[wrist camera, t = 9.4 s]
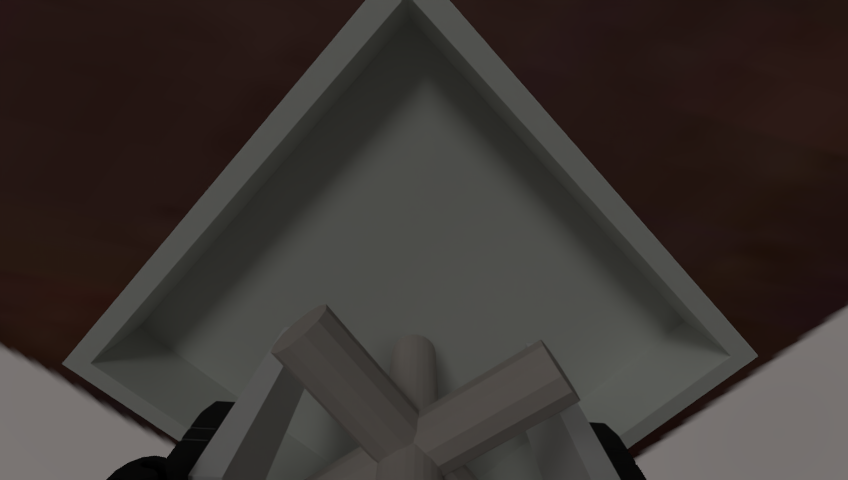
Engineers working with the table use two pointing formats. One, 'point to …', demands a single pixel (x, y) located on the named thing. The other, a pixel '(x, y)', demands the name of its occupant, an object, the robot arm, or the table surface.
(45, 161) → the table surface
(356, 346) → the pipe connector
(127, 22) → the table surface
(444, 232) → the tray
